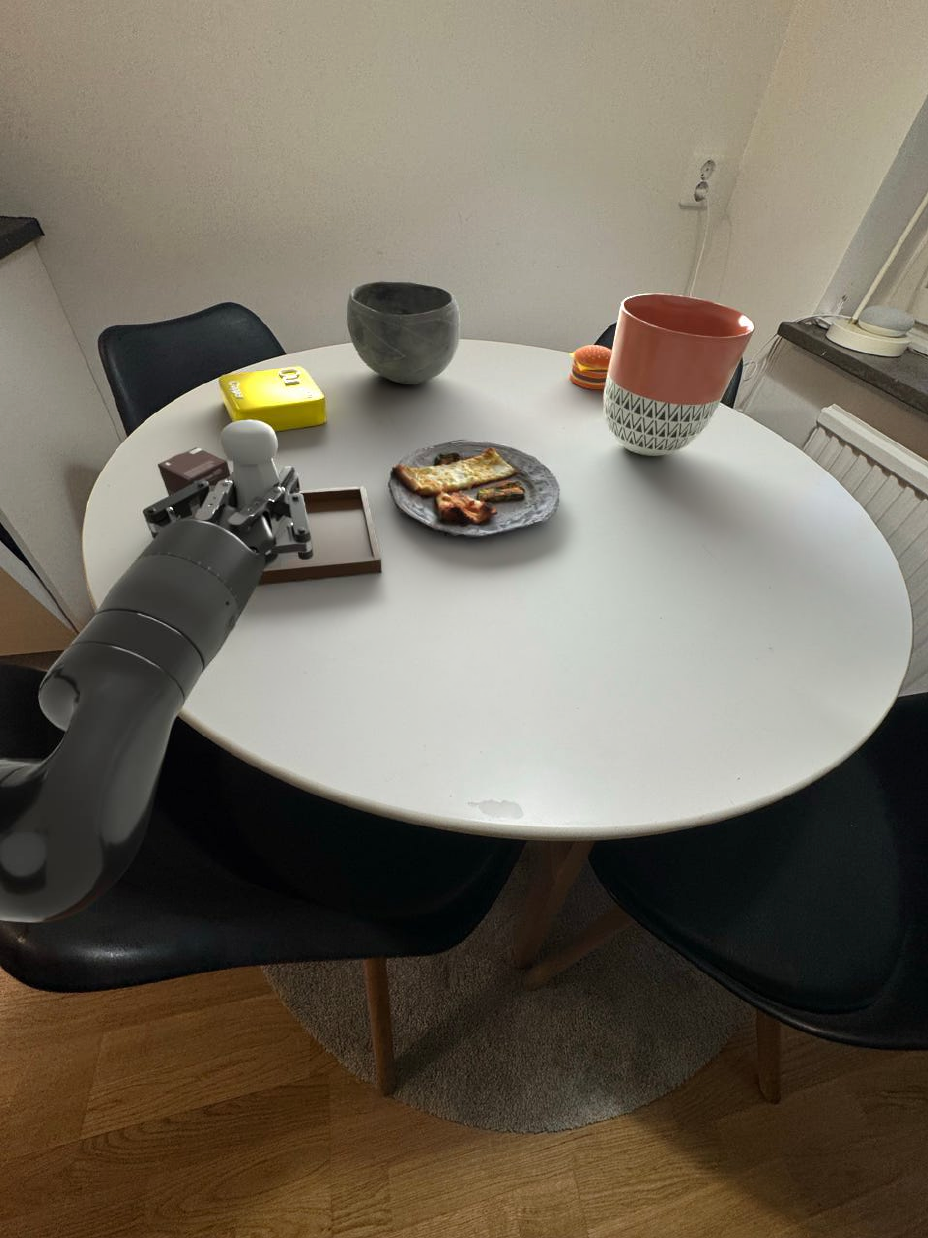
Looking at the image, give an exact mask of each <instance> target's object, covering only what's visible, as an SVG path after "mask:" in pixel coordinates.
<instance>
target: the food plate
mask: <svg viewBox="0 0 928 1238" xmlns="http://www.w3.org/2000/svg"><path fill="white" fill-rule="evenodd" d="M389 474H390V475H389V480H388V484H387V487H388V489H389V493H390V496H391V498H392V500H393V502H394V504H395V506H396V508H397V509H398V510H399V511H400V512H401V513H402V514H403V515H404V516H406V517H408V518H410V519H411V520H414V521H416V522H418V523H420V524H422V525H424V526H425V527H426V528H428V529H429V530H433V531H436V532H437V533H444V536H447V532H448V533H449V534H448V535H451V536H453V537H457V536H459V535H464V536H465V537H466V538H469V539H470V538H478V537H488V535H494V534H499V533H505V532H509V531H510V532H511V531H514V530H515V529H520V528H525V527H528V526H529V525H531V524H535V523H545V522H547V521H548V520H550V519H551V518H552V517H553V516H554V515H555V514H556V512H557V511H558V508H559V507H560V505H559V504H560V493H561V492H560V491H561V489H560V485H559V483H558V481H557V478H556V476H555V475H554V473H553V472H552V471H551V470H550V469H549V468H548V467H546V465H545V464H544V463H542V462H541V461H540V460H539V459H538V458H537V457H536V456H533V455H531V454H529V453H527V452H524V451H522V450H520V449H519V448H517V447H512V446H510V445H507V444H503V443H500V442H495V441H493V442H492V441H486V440H485V441H476V440H466V439H458V440H452V441H447V442H443V443H438V444H434V445H431V446H427V447H423V448H420V449H417V450H415V451H412V452H410V453H408V454H406V455H405V456H404V457H403V458H402V459H401V460H400V461H399V462H398V464H396V465H395V466H392V468H391V471H390V473H389Z"/></svg>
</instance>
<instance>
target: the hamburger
mask: <svg viewBox="0 0 928 1238" xmlns="http://www.w3.org/2000/svg"><path fill="white" fill-rule="evenodd" d="M611 352H612V349H609V348H608V347H606V346H602V345H595V344H588V345H585V346H582V347H579V348H577V349H576V350H574V352H571V353H569V357H571V358H572V359H573V360H572V363H571V367H572V368H571V371H570V372H569V379H570V381H571V382H572V383H573V384H575V385H577V386H580V387H582V388H586V389H589V390H590V389H591V390H604V388H605V383H606V377H607V372H608V367H609V362H610V357H611Z"/></svg>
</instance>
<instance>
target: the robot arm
mask: <svg viewBox="0 0 928 1238" xmlns="http://www.w3.org/2000/svg"><path fill="white" fill-rule="evenodd" d="M230 474H231V475H230V476H229V477H228V478H227V480H221V481H219V482H218V483H217V485H214V486H209V483H208V482H207V481H197V482H195V483H193V484H191V485H189V486H187V487H185V488H184V489H182V490H180V491H178V492H176V493H174V494H172V495H170V496H169V495H167V496H166V497H164V498H163V499H160V500H158V501H156V502H155V503H153V504H151V505H149V506H147V507H145V508H143V510H142V514H143V517H144V519H145V522H146V525H147V528H148V530H149V532H150V534H151V536H152V538H153V539H152V540H151V542H150V543H149V544H148V545H147V546H146V547H145V548H144V550H143V551H142V552H141V553H140V554H139V556H137V558H136V559H135V560H134V561H133V563H132V564H131V565H130V566H129V567H128V568H127V569H126V571H125V572H124V573H123V574H122V575H121V576H120V577H119V579H118V580H117V581H116V582H115V583H114V585H113V586H112V587H111V588H110V590H109V591H108V592H107V594H106V596H105V597H104V599H103V601H102V602H101V604H100V606H99V608H98V609H97V611H96V612H95V614H94V615H93V616H92V617H91V619H90V620H89V621H88V622H87V624H86V625H85V626H84V627H83V628H82V629H81V631H80V632H79V633H78V634H77V635H76V637H75V638H74V639H73V640H72V641H71V642H70V643H69V645H68V646H67V647H66V648H65V649H64V650H63V652H62V653H61V654H60V655H59V656H58V658H56V660H55V661H54V663H53V664H52V665H51V666H50V668H49V670H48V671H47V672H46V674H45V676H44V677H43V680H42V681H41V682H40V685H39V690H38V701H39V706H40V710H41V711H42V713H43V714H44V715H45V717H46V718H47V719H48V720H49V721H50V722H51V723H52V724H53V725H54V726H55V727H57V728H58V729H59V730H60V731H62V732H64V735H63V737H62V739H61V741H60V742H59V744H58V745H57V746H56V748H55V749H54V750H53V751H52V753H50V755H48V757H46V758H28V757H27V758H26V757H25V758H23V757H22V758H20V757H16V758H15V757H5V756H2V755H0V921H5V922H17V923H31V924H33V923H34V924H40V923H50V922H58V921H60V920H61V921H62V920H64V919H67V918H69V917H72V916H74V915H76V914H79V913H80V912H82V911H84V910H85V909H87V908H88V907H90V906H92V905H93V904H94V903H95V902H97V901H98V900H99V899H100V898H102V896H104V895H105V894H106V893H107V892H108V891H109V890H110V889H111V888H112V887H113V886H114V885H115V884H116V883H117V882H118V881H119V879H120V878H121V877H122V876H123V875H124V873H125V872H126V871H127V870H128V868H129V867H130V865H131V864H132V862H133V861H134V859H135V857H136V855H137V854H138V853H139V850H140V848H141V846H142V843H143V840H144V838H145V836H146V833H147V829H148V826H149V822H150V819H151V815H152V810H153V806H154V801H155V797H156V793H157V788H158V785H159V782H160V781H159V780H160V776H161V772H162V769H163V765H164V762H165V758H166V753H167V750H168V749H167V748H168V745H169V741H170V736H171V731H172V728H173V725H174V721H175V720H176V718H177V717H178V715H179V713H180V712H181V710H182V709H183V706H184V705H185V704H186V702H187V699H188V698H189V696H190V695H191V693H192V691H193V689H194V687H196V685H197V682H198V681H199V680H200V677H201V676H202V674H203V673H204V672H205V670H206V668H207V667H208V666H209V665H210V664H211V662H212V661H213V660H214V659H215V658H216V657H217V655H218V654H219V653H220V651H221V650H222V647H224V645H225V643H226V641H227V639H228V638H229V636H230V635H231V633H232V632H233V630H234V629H235V627H236V624H237V622H238V621H239V619H240V618H241V616H242V613H243V612H244V610H245V608H246V607H247V605H248V603H249V601H250V599H251V598H252V597H253V594H254V593H255V591H256V589H257V588H258V586H259V585H258V583H259V581H260V578H261V575H262V572H263V570H264V568H266V567H267V566H268V565H270V564H271V563H273V562H274V561H275V560H276V559H277V557H278V555H279V554H287V553H295V552H297V553H298V557H299V558H300V559H302V560H308V559H311V558H312V557H313V548H312V542H311V535H310V529H309V524H308V519H307V514H306V509H305V503H304V498H303V495H302V494H299V493H298V492H299V491H300V490H301V487H300V479H299V473H298V472H296V471H295V467H294V466H289V465H288V466H287V465H284V466H283V468H282V470H281V471H280V472H279V473H278V474H279V482H278V483H276V484H275V485H273V487H272V488H271V489H270V490H269V491H268V492H267V493H266V494H265V495H264V496H263V497H258V496H256V497H255V498H254V499H253V500H252V501H251V502H249V503H248V504H247V505H246V506H245V507H244V508H240V509H238V505H237V504H238V502H237V492H236V487H235V486H234V477H233V471H232V472H231V473H230ZM195 498H197V499H198V502H199V504H197V505H196V506H194V507H192V508H190V501H191V500H193V499H195ZM286 517H289V518H291V519H292V523H288V524H287V529H286V530H284V532H283V535H282V536H281V537H279V538H275V535H276V534H277V531H278V526H279V525H280V524H281V523H282V522H283V521H284V520H285V518H286Z"/></svg>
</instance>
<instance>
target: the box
mask: <svg viewBox="0 0 928 1238" xmlns="http://www.w3.org/2000/svg"><path fill="white" fill-rule="evenodd" d="M157 467H158V470H159V473H160V476H161V479H162V481H163V485H164V487H165V490H166V492H167V496H170V495H172V494H174V493H176V492H178V491H180V490H182V489H184V488H185V487H187V486H189V485H191V484H193V483H195V482H197V481H207V482H208V483H209V486H214V485H217V483H218V482H219V481H221V480H227V478H228V477H229V476H230V475H231V474H232V473H231V470H230V467H229V464H228V460H227V459H225V458H223V457H220V456H218V455H215V454H213V453H210V452H209V451H207V450H204V449H203V448H200V447H193V448H191V449H189V450H187V451H184V452H180V453H178V454H175V455H173V456H171V458H168V459H166V460H164V461H162V462H160V463H157ZM197 504H199V502H198V499H197V498H195V499H193V500H191V501H190V508H192V507H194V506H196V505H197Z"/></svg>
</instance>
